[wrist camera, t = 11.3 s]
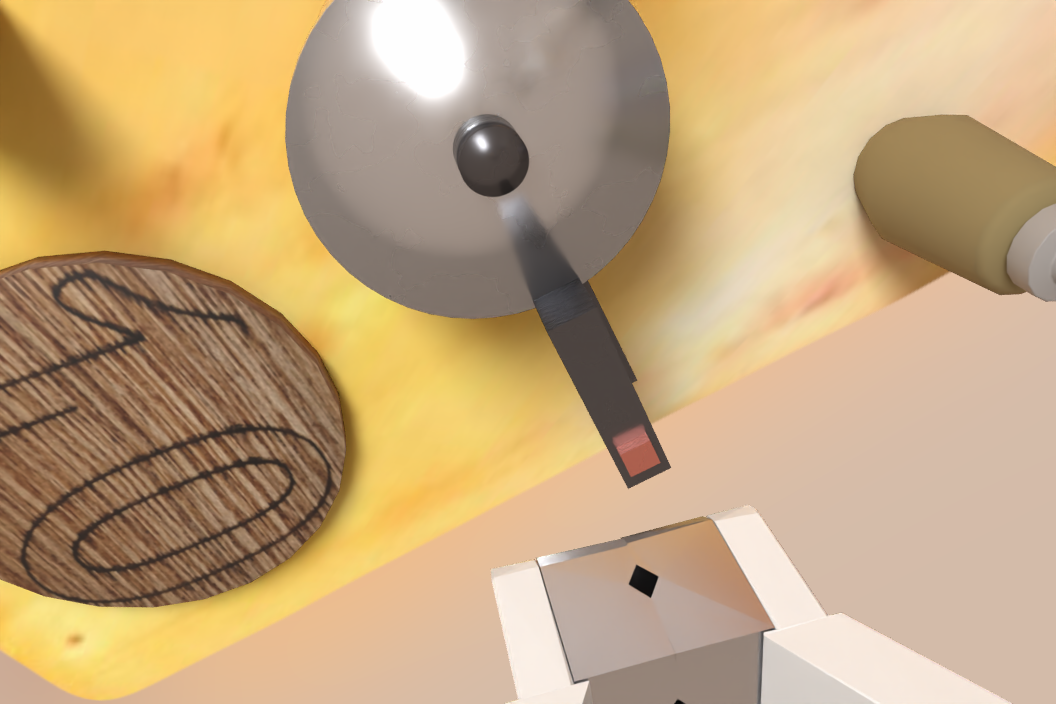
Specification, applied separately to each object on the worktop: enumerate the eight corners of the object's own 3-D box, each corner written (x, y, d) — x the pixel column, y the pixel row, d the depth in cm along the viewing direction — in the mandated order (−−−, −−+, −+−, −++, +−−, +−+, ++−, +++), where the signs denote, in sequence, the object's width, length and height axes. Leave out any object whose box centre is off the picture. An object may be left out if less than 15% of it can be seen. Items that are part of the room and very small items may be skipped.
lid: (580, -152, 30) (619, -154, 26) (757, 364, 44) (800, 414, 40) (202, 51, 31) (182, 79, 27) (494, 493, 45) (510, 555, 41)
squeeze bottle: (940, 70, 48) (1223, 166, 32) (968, 181, 52) (1229, 310, 37) (818, 146, 48) (1039, 273, 33) (855, 248, 53) (1066, 402, 38)
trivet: (-223, 377, 43) (-244, 397, 42) (189, 168, 42) (184, 180, 40) (95, 637, 57) (88, 660, 55) (413, 484, 56) (416, 503, 54)
